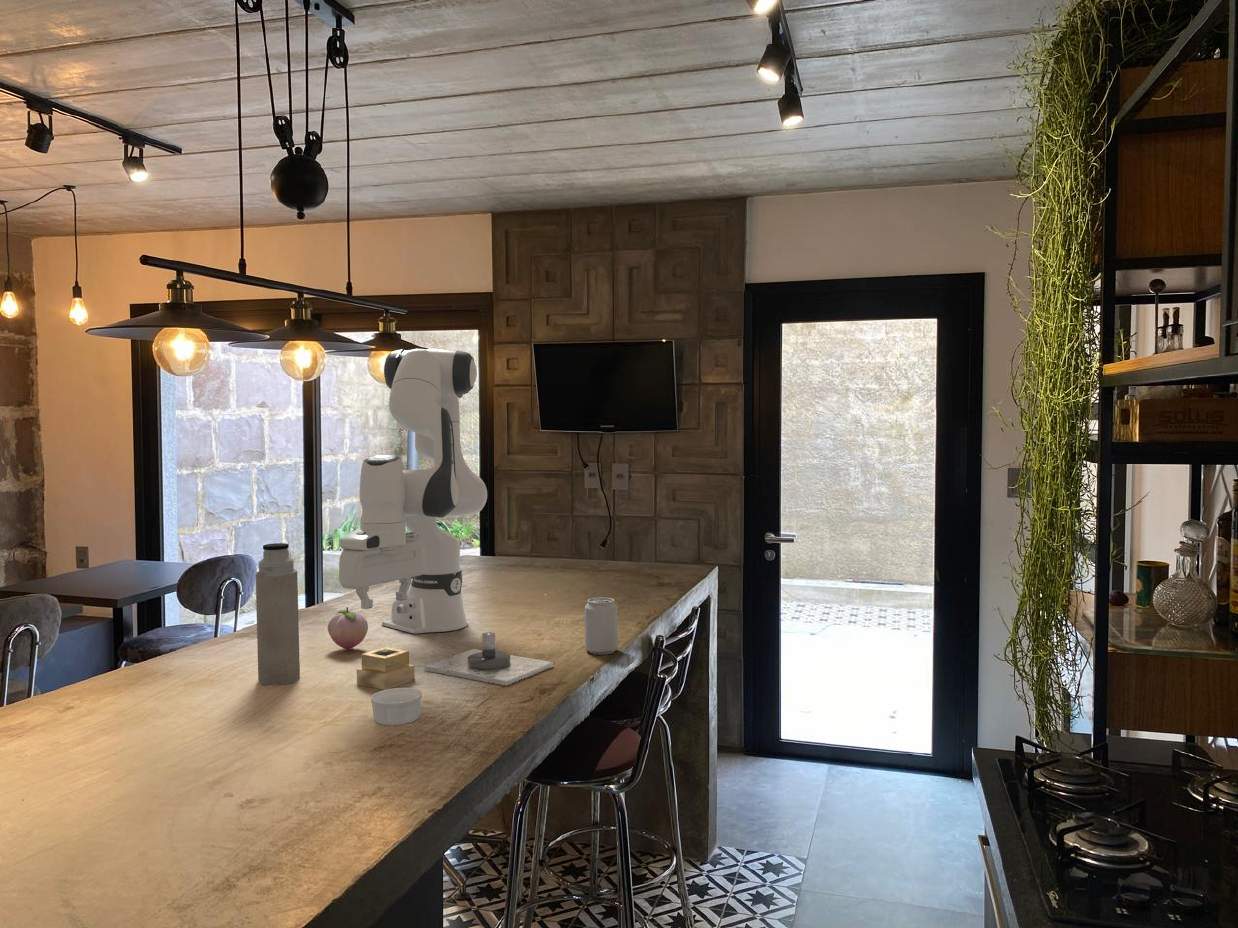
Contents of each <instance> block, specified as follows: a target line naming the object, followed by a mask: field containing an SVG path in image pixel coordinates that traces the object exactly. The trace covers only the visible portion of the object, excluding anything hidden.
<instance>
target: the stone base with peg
mask: <svg viewBox="0 0 1238 928" xmlns="http://www.w3.org/2000/svg"><path fill="white" fill-rule="evenodd" d="M423 668H424V669H423V671H426V672H431V673H435V674H441V675H445V676H446V675H447V676H451V677H456V678H463V679H468V680H474V681H478V682H483V683H484V682H485V683H488V682H489V684H493V683H494V684H493V685H499V684H500V686H504V685H505V687H507V685H508V686H509V685H513V684H515V683H517V682H519V680H520V681H522V680H524V678H525V679H526V678H529V677H533V676H534V675H536V674H539V673H541V672H544V671H546V670H549V669H551V668H554V661H549V660H543V659H536V658H529V657H524V656H519V655H518V656H517V655H512V654H509V653H506V652H503V651H497V650H496V632H492V631H490V632H482V633H481V649H477V648H472V649H469V650H467V651H464V652H461V653H457V654H454V655H452V656H449V657H446V658H443V659H440V660H438V661H437V660H436V661H434V662H432V663H428V664H425V665H423ZM521 679H522V680H521ZM514 682H515V683H514ZM512 683H513V684H512Z"/></svg>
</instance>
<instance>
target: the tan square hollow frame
mask: <svg viewBox="0 0 1238 928" xmlns="http://www.w3.org/2000/svg"><path fill="white" fill-rule="evenodd" d="M385 649H389V650H392V654H390V655H387V656H382V655H379V651H380V650H385ZM409 664H410V650H406V649H399V648H395V647H388V646H384V647H381V648H378V649H375V650H371V651H367V652H364V653H361V668H362V669H365V670H370V671H375V672H380V673H388V672H391V671H394V670H397V669H400V668H403V667H406V666H409Z"/></svg>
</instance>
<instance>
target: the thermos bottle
mask: <svg viewBox="0 0 1238 928" xmlns="http://www.w3.org/2000/svg"><path fill="white" fill-rule="evenodd" d="M262 550H263V552H262V553H263V558H262V559H261V560H259V561H258V567H257V568H258V570H259V571H256V572H255V602H256V603H255V604H256V609H255V610H256V637H257V639H256V641H257V642H256V643H257V644H256V645H257V647H256V648H257V676H258V678H257V679H258V680H257V681H258V683H259V684H260V685H263V686H283V685H288V684H292V683H295V682H297V681H298V680H300V679H301V667H300V666H301V663H300V662H301V661H300V634H299V633H300V627H299V592H298V591H299V590H298V589H299V586H298V570H297V569H295V567H294V566H295V562H294V559H293V558H291V557H290V551H289V543H285V542H284V543H282V542H281V543H280V542H277V543H276V542H275V543H266V544H263V545H262Z"/></svg>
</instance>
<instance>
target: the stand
mask: <svg viewBox="0 0 1238 928" xmlns="http://www.w3.org/2000/svg"><path fill="white" fill-rule="evenodd" d="M390 654H392V650H389V649H385V650H380V651H379V655H382V656H387V655H390ZM415 679H416V678H415V664H410V663H409V666H406V667H403V668H400V669H397V670H394V671H391V672H388V673H380V672H375V671H370V670H365V669H362V667H359V668H356V685H361V686H365V687H370V688H374V689H380V690H387V689H393V688H396V687H398V686H401V685H404V684H406V683H408V682H411V681H414V680H415Z"/></svg>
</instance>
